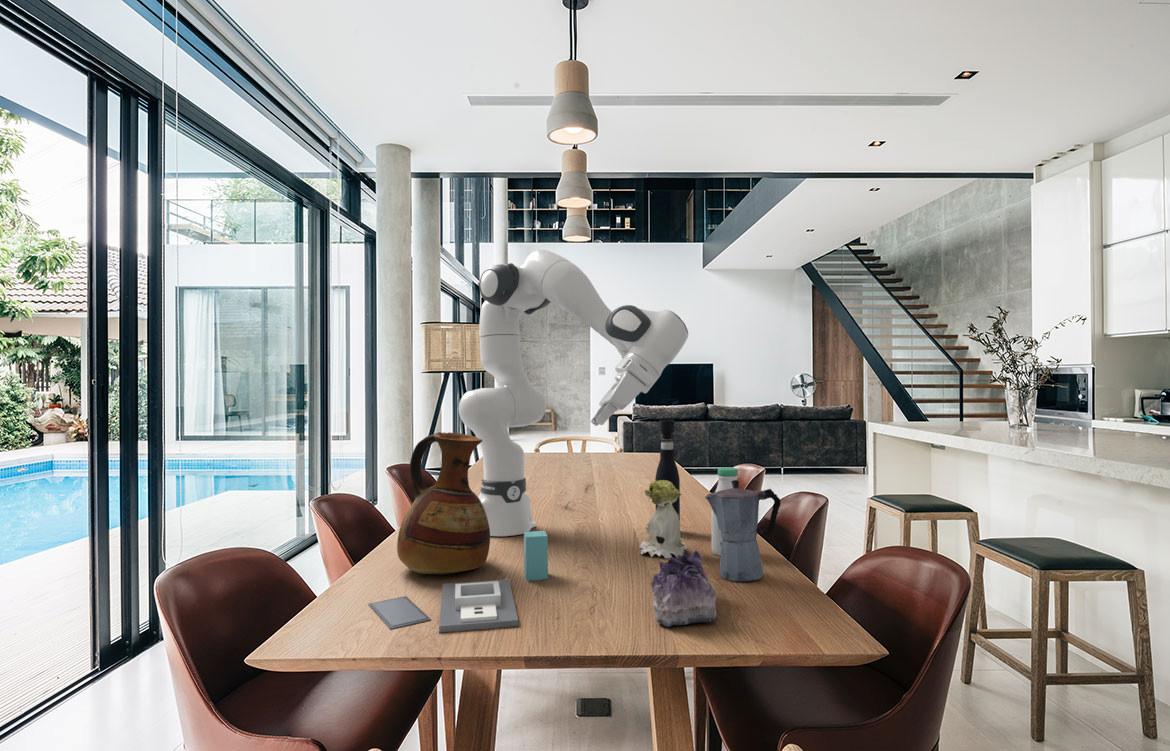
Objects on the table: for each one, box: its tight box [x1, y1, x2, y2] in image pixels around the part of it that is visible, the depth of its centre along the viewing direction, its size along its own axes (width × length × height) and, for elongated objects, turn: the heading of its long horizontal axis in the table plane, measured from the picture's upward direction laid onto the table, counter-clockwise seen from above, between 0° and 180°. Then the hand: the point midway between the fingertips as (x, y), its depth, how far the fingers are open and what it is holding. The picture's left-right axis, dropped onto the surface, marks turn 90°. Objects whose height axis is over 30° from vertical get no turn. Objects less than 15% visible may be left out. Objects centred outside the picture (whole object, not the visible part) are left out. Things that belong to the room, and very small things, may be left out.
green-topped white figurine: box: [638, 480, 688, 559], centre depth 152 cm, size 11×12×17 cm
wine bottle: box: [654, 419, 681, 522], centre depth 170 cm, size 6×6×30 cm
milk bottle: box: [710, 466, 739, 557], centre depth 150 cm, size 8×8×20 cm
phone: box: [368, 595, 432, 630], centre depth 114 cm, size 7×14×1 cm, turn 33°
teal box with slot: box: [523, 530, 549, 582], centre depth 134 cm, size 4×5×9 cm
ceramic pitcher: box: [396, 431, 491, 575], centre depth 139 cm, size 20×20×30 cm
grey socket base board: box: [438, 578, 519, 633], centre depth 117 cm, size 22×13×3 cm, turn 11°
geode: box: [650, 550, 718, 628], centre depth 115 cm, size 20×12×10 cm, turn 173°
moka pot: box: [704, 480, 782, 582], centre depth 133 cm, size 10×15×20 cm, turn 88°
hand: (595, 423), depth 138 cm, fingers open, 8 cm apart
